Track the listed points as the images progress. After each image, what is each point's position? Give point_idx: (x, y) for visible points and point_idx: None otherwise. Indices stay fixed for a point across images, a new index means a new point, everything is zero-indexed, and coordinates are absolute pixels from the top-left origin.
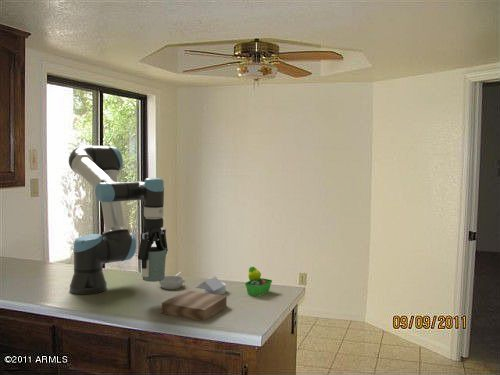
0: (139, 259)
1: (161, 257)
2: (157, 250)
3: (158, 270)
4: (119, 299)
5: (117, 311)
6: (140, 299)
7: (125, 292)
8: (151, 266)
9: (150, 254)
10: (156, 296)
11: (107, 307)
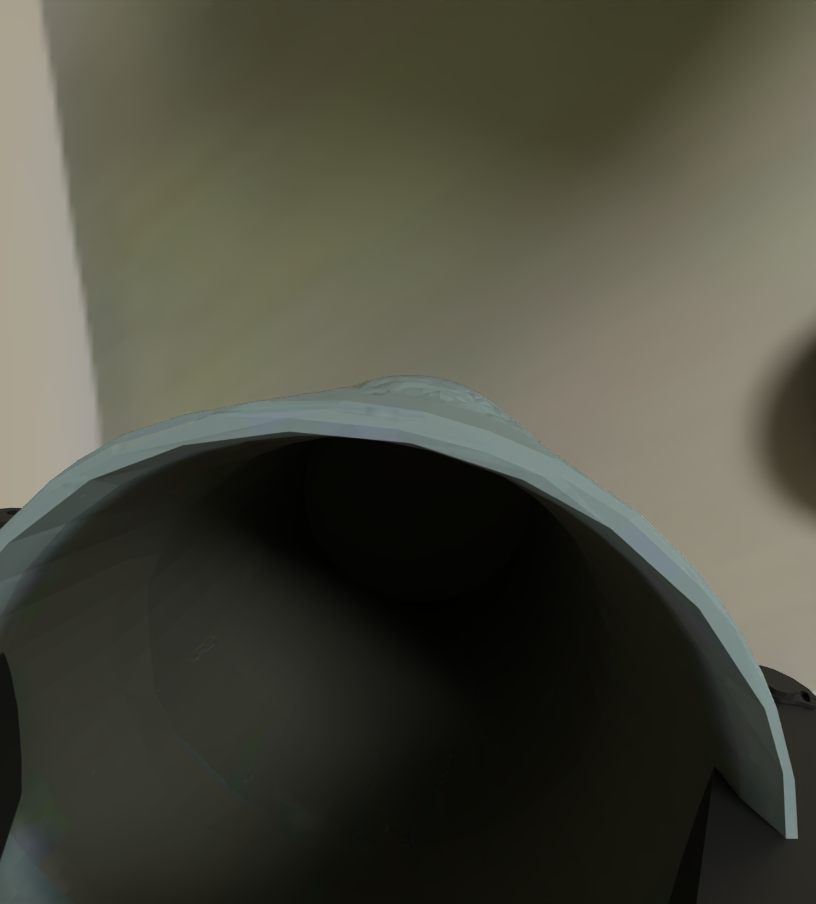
0: (6, 511)
1: (269, 890)
2: (683, 733)
3: (309, 669)
4: (404, 121)
5: (155, 290)
6: (465, 303)
7: (621, 36)
8: (215, 635)
9: (27, 814)
10: (581, 390)
11: (193, 156)
